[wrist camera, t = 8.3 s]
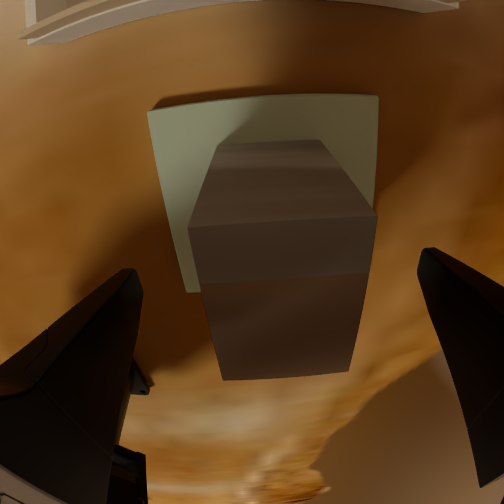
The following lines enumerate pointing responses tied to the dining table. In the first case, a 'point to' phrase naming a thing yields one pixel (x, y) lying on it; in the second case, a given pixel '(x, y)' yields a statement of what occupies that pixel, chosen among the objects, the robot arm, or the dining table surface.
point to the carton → (143, 14)
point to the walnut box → (281, 259)
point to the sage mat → (253, 131)
